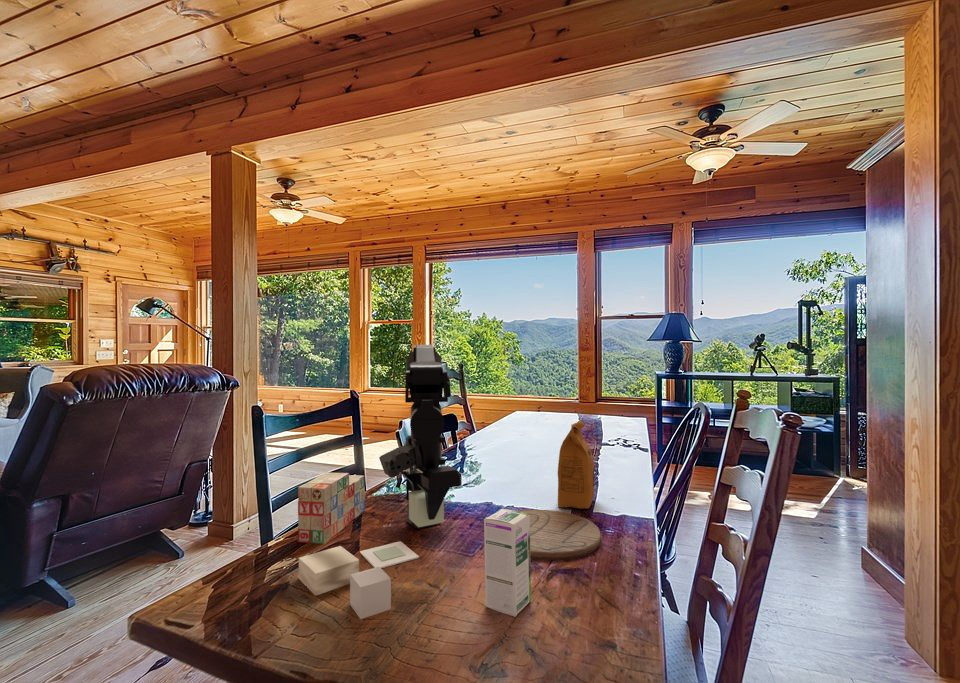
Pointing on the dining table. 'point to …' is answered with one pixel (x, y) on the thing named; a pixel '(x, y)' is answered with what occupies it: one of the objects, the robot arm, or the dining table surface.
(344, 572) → the birch base block
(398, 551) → the card
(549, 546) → the trivet
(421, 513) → the sage block
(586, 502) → the coffee package
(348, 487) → the stack of blocks
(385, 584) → the grey block
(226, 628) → the dining table surface
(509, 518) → the syrup box
